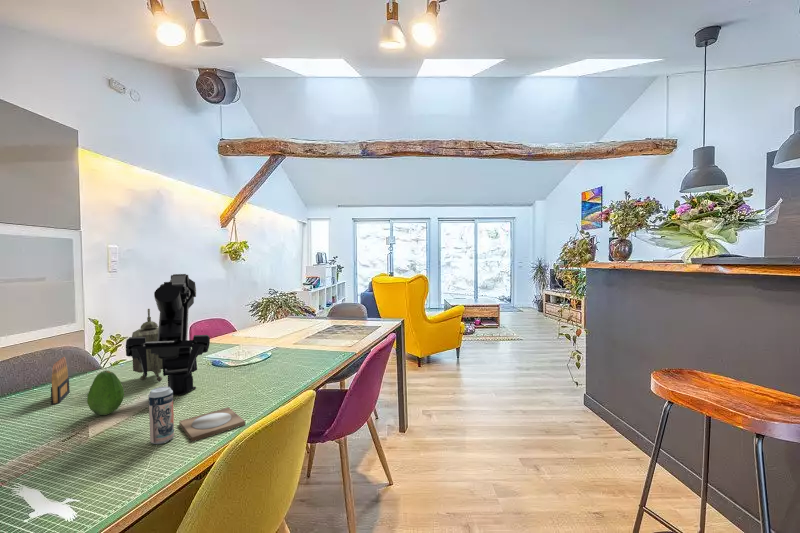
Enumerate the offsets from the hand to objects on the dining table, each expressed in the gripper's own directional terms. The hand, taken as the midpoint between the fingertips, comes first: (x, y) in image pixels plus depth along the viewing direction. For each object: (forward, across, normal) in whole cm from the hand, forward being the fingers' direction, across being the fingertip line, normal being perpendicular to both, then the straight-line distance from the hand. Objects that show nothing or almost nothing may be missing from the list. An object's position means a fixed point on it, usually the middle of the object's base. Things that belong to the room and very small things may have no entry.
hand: (167, 375), depth 94 cm
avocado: (0, +13, -23) cm, 26 cm away
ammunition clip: (-14, +27, -41) cm, 51 cm away
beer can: (+16, 0, -1) cm, 16 cm away
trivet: (+13, -10, -2) cm, 17 cm away
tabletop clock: (-19, +5, -45) cm, 49 cm away
